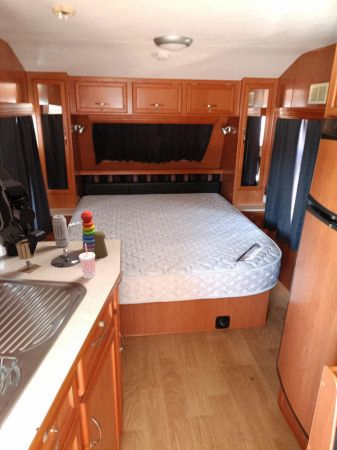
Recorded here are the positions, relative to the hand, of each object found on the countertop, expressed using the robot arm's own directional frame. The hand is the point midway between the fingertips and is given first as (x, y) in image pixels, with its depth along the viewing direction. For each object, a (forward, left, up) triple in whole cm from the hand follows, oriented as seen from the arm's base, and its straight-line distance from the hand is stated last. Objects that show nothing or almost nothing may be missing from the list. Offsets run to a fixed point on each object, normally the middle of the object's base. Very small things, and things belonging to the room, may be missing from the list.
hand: (26, 253), depth 132 cm
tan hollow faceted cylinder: (0, 0, -1) cm, 1 cm away
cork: (+20, +22, -8) cm, 31 cm away
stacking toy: (+12, +26, -8) cm, 30 cm away
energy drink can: (-3, +24, -8) cm, 26 cm away
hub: (+10, +11, -8) cm, 17 cm away
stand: (0, 0, -8) cm, 8 cm away
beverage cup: (+26, +5, -8) cm, 28 cm away
